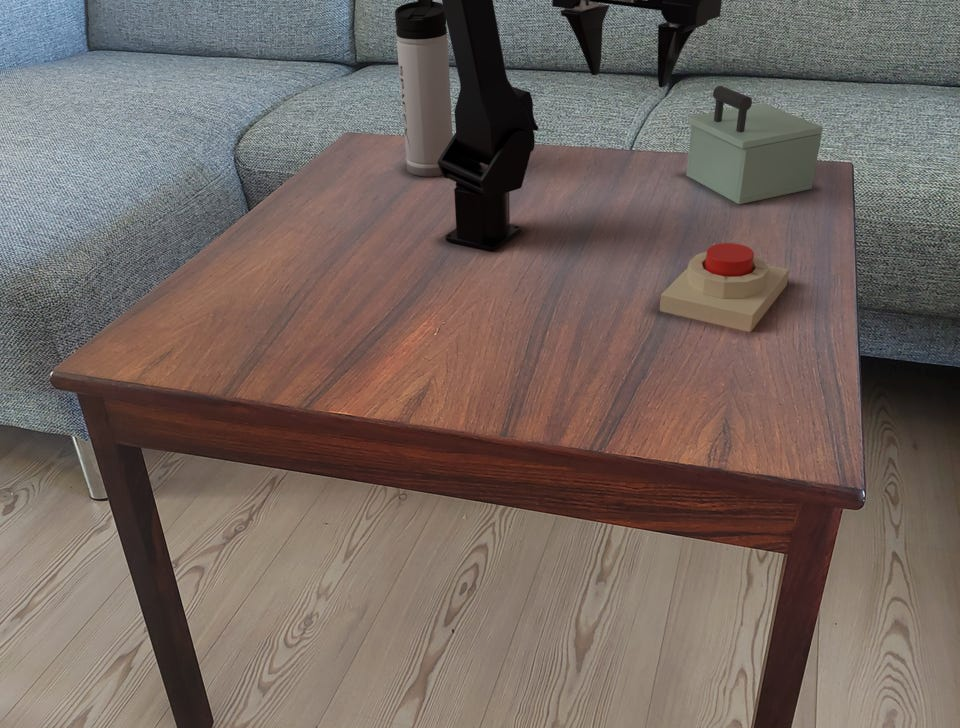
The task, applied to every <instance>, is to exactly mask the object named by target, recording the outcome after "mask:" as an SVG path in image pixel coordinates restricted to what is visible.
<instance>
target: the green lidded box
mask: <svg viewBox="0 0 960 728" xmlns="http://www.w3.org/2000/svg"><path fill="white" fill-rule="evenodd" d="M689 133H690V134H689V145H688V153H687V163H686V174H685V176H687V177H688V178H689V179H692V180H694V181H695V182H697V183H699V184H701V185H703V186H704V187H707V188H708V189H710V190H712V191H714V192H716V193H717V194H719V195H721V196H723V197H725V198H726V199H728V200H730V201H732V202H733V203H736V204H737V205H742V204H743V205H744V204H747V203H752V202H753V203H754V202H758V201H762V200H767V199H772V198H775V197H781V196H786V195H790V194H795V193H799V192H804V191H809V190H812V189H813V184H814V179H815V172H816V168H817V163H818V157H819V153H820V146H821V141H822V135H823V134H822V133H821V134H817V135H811V136H806V137H801V138H796V139H791V140H786V141H780V142H775V143H770V144H765V145H760V146H755V147H749V148H744V149H742V148H740V147H737V146H735V145H733V144H731V143H729V142H727V141H725V140H723V139H721V138H718V137H716V136H714V135H712V134H710V133H708V132H706V131H704V130H702V129H699V128H697V127H695V126H693V125H691V124H690V132H689Z"/></svg>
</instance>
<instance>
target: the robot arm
mask: <svg viewBox="0 0 960 728" xmlns="http://www.w3.org/2000/svg"><path fill="white" fill-rule="evenodd" d="M441 2H442V3H441V4H443V7H444V12H445V16H446V27H447V31H448V35H449V39H450V42H451V48H452V52H453V56H454V61H455V66H456V70H457V75H458V80H459V85H460V90H459V93H458V96H457V100H456V103H455V107H454V124H455V133H453V138H452V139H451V141H450V142H449V144H448V145H447V147H446V149H445V150H444V152H443V153H442V155H441V156H440V158H439V159H438V166H439V168H440V171H441V173H442V175H441V176H442V177H443V178H445V179H449V180H450V181H452V182H455V188H454V189H453V192H454V193H453V194H454V209H455V210H454V211H455V213H454V215H455V229H453V230H451V231H450V232H448V233H447V234H446V235H445V236H444V237H445V241H446V242H450V243H454V244H459V245H464V246H469V247H474V248H476V249H477V248H478V249H481V250H486V251H495V250H497V249H498V248H500V247H501V246H503V245H504V244H505V243H507V242H508V241H510V240H511V239H512V238H514V237H516V236H517V235H518V234H519V233H521V232H522V226H520V225H516V224H511V223H510V222H511V221H510V219H511V215H510V213H511V212H510V193H511V192H513V191H517V190H520V189H522V187H523V184H524V180H525V175H526V172H527V168H528V165H529V161H530V158H531V153H532V152H533V151H534V149H535V143H536V137H535V132H534V131H539V126H538V125H537V123H536V119H535V117H534V102H533V97H532V94H531V92H530V91H528V90H524V89H521V88H518V87H516V86H513V85H512V84H511V82H510V80H509V78H508V75H507V71H506V64H505V59H504V53H503V47H502V42H501V38H500V37H501V36H500V32H499V26H498V20H497V15H496V11H495V5H494V0H441ZM722 2H723V0H551V6H552V7H554V8H561V10H560V16H561V17H565V18H566V20H567V22H568V24H569V26H570V28H571V30H572V32H573V34H574V36H575V38H576V40H577V42H578V45H579V47H580V49H581V52H582V54H583V57H584V60H585V62H586V64H587V67H588V69H589V72H590V75H591V76H598V75H599V74H600V71H601V70H600V69H601V64H602V50H603V49H602V47H603V28H604V27H603V24H604V20H605V18H606V16H607V13H608V11H609V9H610V5H615V6H621V7H630V8H637V9H644V10H645V9H646V10H652V11H660V13H661V16H662V17H663V18H664V20H665V22H662V23H659V24H658V25H657V83H658V87H659V88H665V87H666V86H667V85H668V83H669V81H670V79H671V76H672V74H673V72H674V69H675V67H676V65H677V63H678V60H679V58H680V55H681V53H682V51H683V49H684V47H685V45H686V43H687V42H688V40H689V38H690V36H691V35H693V33H694V31H695V30H696V29H697V28H700V27H704V26H706V25H708V22H709V21H711V20H713V19H716V18H719V17H721V12H722V11H721V10H722ZM482 164H483V165H482Z"/></svg>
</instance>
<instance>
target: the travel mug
mask: <svg viewBox="0 0 960 728" xmlns="http://www.w3.org/2000/svg"><path fill="white" fill-rule="evenodd" d="M394 18H395V19H394V20H395V27H396V29H395V30H396V31H395V32H396V34H395V38H396V50H397V61H398V72H399V86H400V97H401V99H400V100H401V110H402V122H403V134H404V149H405V157H406V160H405V161H406V169H407V172H408V173H410V174H411V175H413V176H417V177H422V178H423V177H425V178H428V177H429V178H430V177H431V178H432V177H440V176H442V173H441V171H440V168H439V166H438V159H439V158H440V156H441V155H442V153H443V152H444V150H445V149H446V147H447V145H448V144H449V142H450V141H451V139H452V138H453V136H454V134H453V119H452V118H453V117H452V116H453V115H452V99H451V98H452V96H451V80H450V79H451V78H450V59H449V40H448V26H447V21H446V16H445V12H444V7H443V3H441V2H438V1H434V0H417V1H412V2H407V3H404V4H402V5H399V6H398V7H396V8H395V9H394Z"/></svg>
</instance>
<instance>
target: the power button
mask: <svg viewBox="0 0 960 728" xmlns="http://www.w3.org/2000/svg"><path fill="white" fill-rule="evenodd" d="M706 252H707V254H706V262H705V270H707V271H709V272H710V273H712V274H715V275H720V276H725V277H740V276H744V275H747V274H750V273H751V271H752V266H753V259H754V255H755V252H754V250H752V249H751V248H750V247H749V246H747V245H743V244H739V243H733V242H724V243H723V242H722V243H717V244H713V245H711V246H709V247H708V248H707V250H706Z"/></svg>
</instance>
